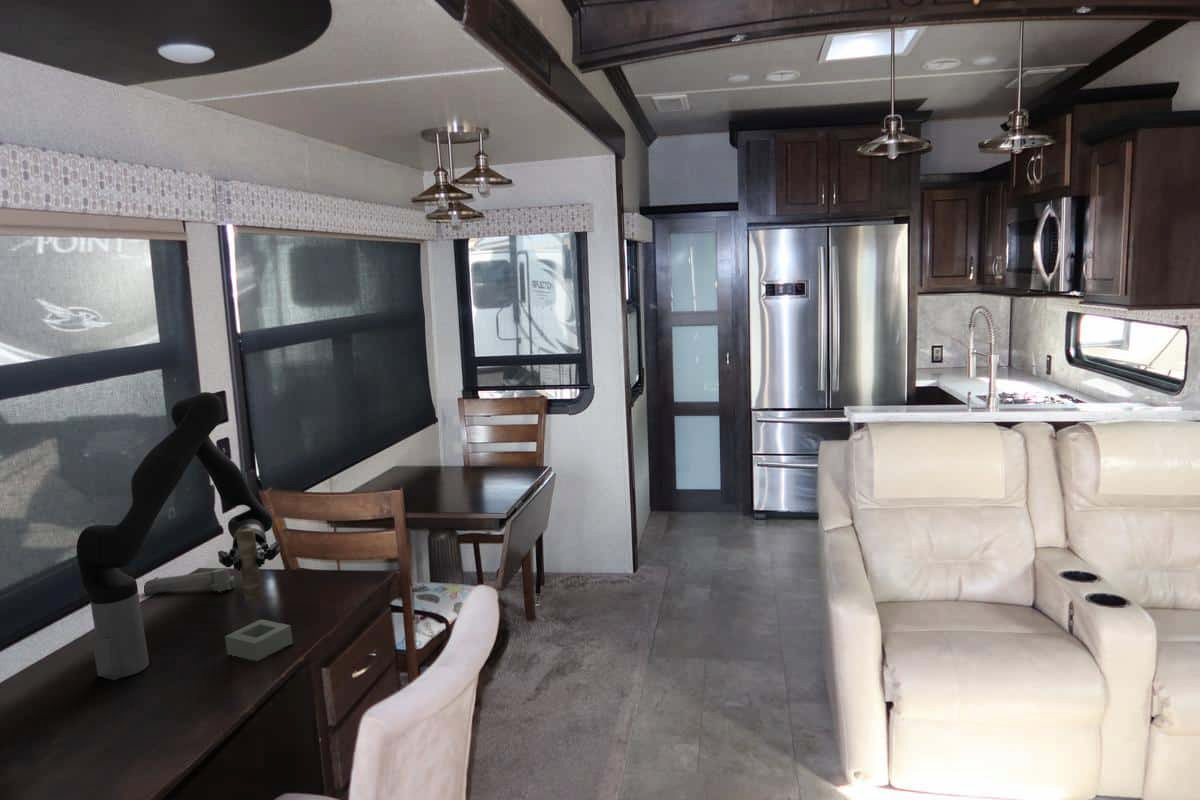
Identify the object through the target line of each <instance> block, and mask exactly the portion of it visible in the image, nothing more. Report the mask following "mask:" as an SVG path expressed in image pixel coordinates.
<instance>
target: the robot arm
mask: <svg viewBox="0 0 1200 800" xmlns="http://www.w3.org/2000/svg"><path fill="white" fill-rule="evenodd" d="M170 413H171V419H172V422H173V425H174V426H175V429H174V430H173V431H171V432H170V433H169V434H168V435H167V436H165V438H163V439H162V440H161V441H160V442H159V443H157V444H156V445H155V446H154V447H153V448H152V449H151V450H150V451H149V452H148V453H147V454H146V455H145V456H144V457H143V460H142V461H141V462H140V464H139V466H138V467H137V468H136V470H134V473H133V475H132V478H131V485H130V487H131V488H130V489H131V499H132V503H131V506H130V508H129V510H128V511H127V513H126V515H125V516H124V517H123V519H122V520H121V521H120V522H119V523H118V524H94V525H89V526H87V527H85V528H84V529H83V530H82V531H81V532H80V534H79V536H78V537H77V538H78V539H77V541H76V559H77V563H78V568H79V572H80V576H81V580H82V584H83V588H84V590H85V592H86V593H87V595H88V596H89V603H90V606H91V614H92V615H91V616H92V620H93V627H94V632H95V633H93V634H92V635H91V642H92V647H93V653H94V660H95V666H96V673H97V676H98V677H101V678H104V679H109V680H111V681H117V680H118V679H122V678H126V677H130V676H133V675H136V674H137V673H140V672H142V671H144V670H146V669H147V668H148V667H149V665H150V661H149V653H148V648H147V641H146V636H145V628H144V622H143V616H142V615H143V614H142V608H141V601H140V596H139V595H140V594H139V589H138V588H139V587H138V583H137V581H136V579H135V578H134V577H133V576H130V575H128V574H126V573H124V572H123V571H122V570H120V568H124V567H127V566H130V564H131V563H132V562H133V561H134V560H135V559H136V558H137V556H138V554H139V553H140V551H141V550H142V548H143V546H144V543H145V541H146V539H147V537H148V534H149V533H150V530H151V529H152V527H153V526H154V523H155V521H156V518H157V517H158V516H159V514H160V512H161V510H162V509H163V507H164V505H165V504H166V502H167V500H168V499H169V497H170V496H171V494H172V492H174V490H175V489H176V487H177V485H178V484H179V482H180V481H181V479H182V477H183V475H184V474H185V472H186V470H187V469H188V467H189V465H190V464H191V462H192V461H193V459H194V458H195V456H196V457H197V459H198V460H199V462H200V463H201V465H202V466H203V468H204V469H205V470H206V472H207V473H208V475H209V477H210V478H211V479H210V480H211V481H212V482H213V484H214V487H215V489H216V490H217V493H218V495H219V497H220V499H221V502H223V503H222V504H223V505H224V506H225V507H226V508H234V507H238V506H246V507H248V508H249V509H248V510H246V511H244V512H241V513H239V514H237V515H235V516H232V517H231V518H230V519H229V521H228V523H227V528H228V529H227V531H228V532H229V534H230V536H231V537H232V548H231V549H229V551H224V550H219V551H218V552H217V554H218V555H217V556H218V562H219V563H220V564H221V565H223V566H224V568H231V567H233V569H234V570H237V572H239V571H240V572H241V565H240V558H239V551H238V543H237V536H236V532H237V531H239V530H242V529H249V528H251V529H254V532H255V540H256V547H257V561H258V567H259V568H262V567H263V566H262V565H265V563H266V560H267V561H272V560H274V559H275V558H276V557H277V556H278V555H279V554H280V553H281V546H280V542H279V541H275V542H272V543H270V544H269V543H268V540H267V536H266V532H268V531H270V530H271V529H272V527H273V518H272V515H271V514H270V513H269V511H268V510H267V509H266V508H265V507H264V506H263V505H262V504H261V503H260V502H259V500H258V499H257V498H256V497H255V495H254V494H253V493H252V491H251V489H250V487H249V486H248V483H247V481H246V479H245V477H244V475H243V472H242V471H241V470H240V468H239V466H237V464H236V463H235V462H234V461H233V460H232V459H231V458H230V457H228V456H227V455H226V454H225V453H224V452H223V451H222V450H220V449H219V448H218V447H217V446H216V444H215V443H214V442H213V440H212V439H211V437H210V434H212V432H213V431H214V430H215V428H216V427H217V426H219V424H220V422H221V420H222V419H223V416H224V404H223V401H222V399H221V398H220V397H219V396H218V395H217V394H215V393H213V392H210V391H209V392H208V391H203V392H197V393H195V394H193V395H189V396H188V397H185V398H183V399H181V400H177V402H175V403H174V405H173V407H172V408H171V412H170Z"/></svg>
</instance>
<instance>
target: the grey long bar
mask: <svg viewBox="0 0 1200 800" xmlns="http://www.w3.org/2000/svg"><path fill="white" fill-rule="evenodd" d="M148 580H149V581H147V582H146V583H145V585H144V593H145V594H147V595H155V594H156V595H158V594H157V593H159V592H160V593H165V592H170V591H171V592H172V591H177V590H179V589H180V590H181V589H186V588H191V587H196V586H202V585H206V584H210V586H211V587H212V588H213V590H214V592H215V591H218V592H217V593H219V592H220V593H222V592H221V591H224V592H225V591H230V590H233V589H234V588H235V587H236V585H235V581H236V578H235V576H234V575H231V574H230V571H229V570H228V567H221V568H216V569H213V571H205V572H199V573H192V574H191V573H190V574H183V575H176V576H175V575H174V576H166V577H154V578H153V579H148ZM164 591H165V592H164ZM160 593H159V594H160Z"/></svg>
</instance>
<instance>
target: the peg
mask: <svg viewBox="0 0 1200 800" xmlns="http://www.w3.org/2000/svg"><path fill="white" fill-rule="evenodd" d="M236 536H237V543H238V551H239V558H240V565H241V570H240V572H241V573H240V574H241V578H242V579H241V581H242V586H243V587H242V589H243V594H244V600H245V602H247V603H248V602H249V603H251V602H252V603H253V602H257V601H259V600H262V599H263V597H264V594H263V587H262V580H261V574H260V573H261V572H260V567H258V561H257V547H256V540H255V532H254V529H251V528H249V529H242V530H239V531H237V532H236Z"/></svg>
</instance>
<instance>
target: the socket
mask: <svg viewBox="0 0 1200 800" xmlns="http://www.w3.org/2000/svg"><path fill="white" fill-rule="evenodd" d="M224 640H225V646H226V654H229V655H228V656H230V655H232V656H231V657H234V656H237V657H236V658H238V657H241V658H240V659H242V658H247V659H251V660H256V661H258V660H260V659H262V658H264V657H266V656H268V655H269V654H272V653H274V652H276V651H278V650H280V649H282V648H283V647H286V646H288V645H290V646H292V645H293V644H294V643H293V642H294V641H293V634H292V627H291V625H290V624H285V623H281V622H275V621H272V620H266V619H258V620H256V621H254V622H252V623H250V624H247V625H246V626H244V627H242V628H240V629H238V630H235V631H233V632H231V633H229V634H227V635H225V636H224ZM291 644H292V645H291ZM288 647H289V646H288ZM286 648H287V647H286ZM282 650H283V649H282ZM280 651H281V650H280ZM278 652H279V651H278ZM276 653H277V652H276Z"/></svg>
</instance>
